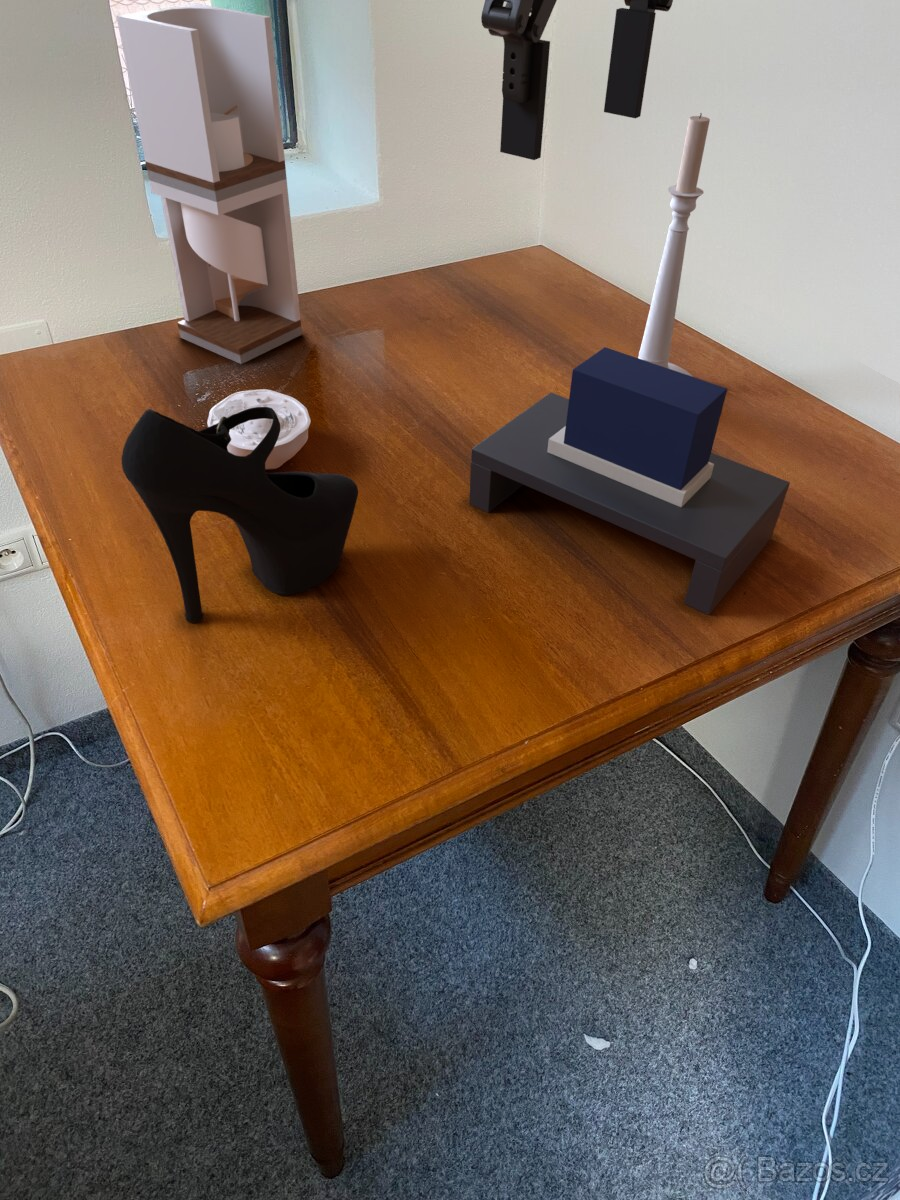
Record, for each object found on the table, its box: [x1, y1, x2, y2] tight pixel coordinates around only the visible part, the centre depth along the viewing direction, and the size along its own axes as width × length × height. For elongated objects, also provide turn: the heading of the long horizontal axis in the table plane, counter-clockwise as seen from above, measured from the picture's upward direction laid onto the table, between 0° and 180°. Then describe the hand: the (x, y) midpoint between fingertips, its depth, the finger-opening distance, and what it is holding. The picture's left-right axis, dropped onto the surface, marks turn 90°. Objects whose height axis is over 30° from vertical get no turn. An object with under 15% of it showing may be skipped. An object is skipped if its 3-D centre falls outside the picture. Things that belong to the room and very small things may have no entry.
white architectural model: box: [116, 3, 303, 365], centre depth 102 cm, size 11×11×35 cm
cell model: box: [206, 388, 311, 470], centre depth 91 cm, size 10×12×7 cm
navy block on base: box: [547, 346, 728, 507], centre depth 79 cm, size 14×6×9 cm, turn 52°
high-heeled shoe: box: [121, 407, 359, 623], centre depth 71 cm, size 8×19×20 cm, turn 130°
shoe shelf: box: [468, 392, 791, 616], centre depth 84 cm, size 26×14×6 cm, turn 53°
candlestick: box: [637, 112, 711, 377], centre depth 95 cm, size 13×13×30 cm
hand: (574, 134), depth 62 cm, fingers open, 13 cm apart
